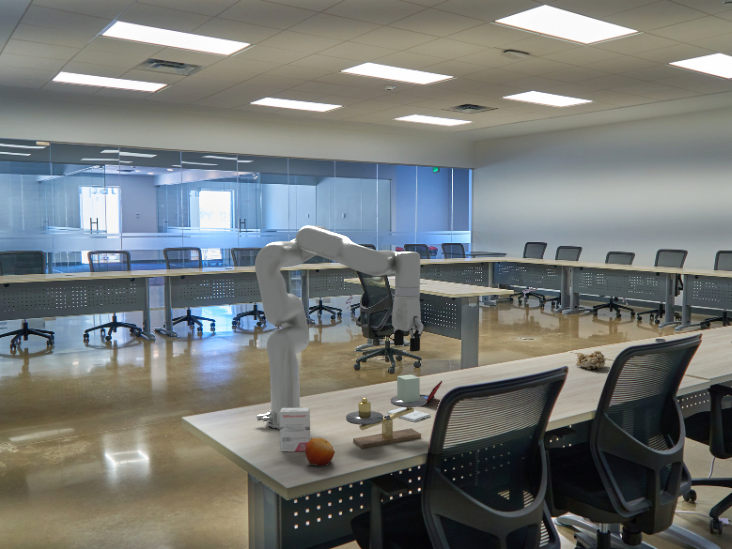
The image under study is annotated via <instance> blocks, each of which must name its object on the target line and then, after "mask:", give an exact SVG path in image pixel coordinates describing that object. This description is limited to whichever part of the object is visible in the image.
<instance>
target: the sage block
mask: <svg viewBox="0 0 732 549" xmlns="http://www.w3.org/2000/svg"><path fill="white" fill-rule="evenodd" d="M396 379H397V380H396V385H397V386H396V389H397V392H396V393H397V395H396V396H397V399H399V400H401V401H403V402H405V403H406V402H413V401H419V400H420V395H421V394H420V391H421V388H420V379H421V378H420V377H418V376H417V375H414V374H411V373H410V374H405V375H397V376H396Z"/></svg>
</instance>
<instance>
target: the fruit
mask: <svg viewBox="0 0 732 549" xmlns="http://www.w3.org/2000/svg"><path fill="white" fill-rule="evenodd" d="M335 452H336V451H335V449H334V447H333V445H332V443H331V442H330V441H329V440H327V439H325V438H323V437H311V440H310V441H309V442H308V443H307V445H306V449H305V451H304V453H305V456H306V460H307V463H308V465H307V466H306V467H308V468H309V466H311V465H314V466H318V467H326V466H327V465H329V464H330V463H331V462H332V460H333V459H334V457H335V456H334V455H335Z"/></svg>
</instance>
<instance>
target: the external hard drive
mask: <svg viewBox="0 0 732 549" xmlns="http://www.w3.org/2000/svg"><path fill="white" fill-rule="evenodd" d="M405 409H406V407H398V408H396V409H395V408H394V409H392V410H389V411H387V414H389V415H391V414H393V413H396V412H399V411H402V410H405ZM387 414H386V415H387ZM427 417H428V418H431V414H430V413H426V412H423V411H419V410H415V409H414V412H412V413H409V414H406V415H403V416H401V417H400V418H399V419H402V418H403V420H405V419H406V420H405V421H409V420H410V422H412V421H413V423H416V422H419V421H421V419H422V420H424V419H423V418H425V419H428V418H427ZM418 420H419V421H418Z"/></svg>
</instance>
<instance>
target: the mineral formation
mask: <svg viewBox="0 0 732 549" xmlns="http://www.w3.org/2000/svg"><path fill="white" fill-rule="evenodd" d="M576 356H577V358H576V363H575V366H576V367H581V368H586V369H587V370H591V369H592V370H595V369H597V370H599V369H601V368H602V369H603V368H604V367H605V365H606V361H607V360H606V357H605V355H604V354H603V353H602V352H601V350H595V351H594V352H592V353H590V354H588V355H585V354H583V353H581V352H577V353H576Z"/></svg>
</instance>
